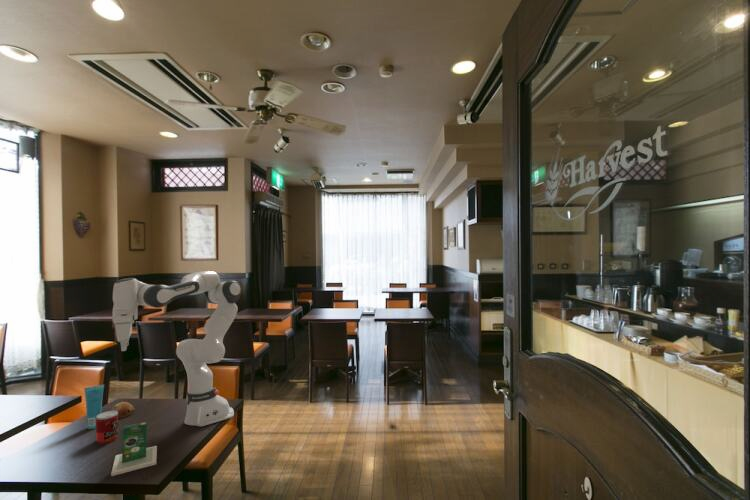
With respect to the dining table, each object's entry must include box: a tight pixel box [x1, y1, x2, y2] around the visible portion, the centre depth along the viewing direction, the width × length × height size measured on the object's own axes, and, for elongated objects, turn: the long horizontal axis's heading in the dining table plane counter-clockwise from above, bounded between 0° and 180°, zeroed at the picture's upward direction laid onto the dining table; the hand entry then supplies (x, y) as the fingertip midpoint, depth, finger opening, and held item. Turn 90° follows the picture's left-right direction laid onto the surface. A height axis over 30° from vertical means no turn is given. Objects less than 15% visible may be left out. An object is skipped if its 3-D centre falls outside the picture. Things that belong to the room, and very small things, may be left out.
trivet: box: [110, 445, 158, 477], centre depth 138 cm, size 14×14×1 cm
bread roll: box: [109, 401, 135, 419], centre depth 180 cm, size 10×10×8 cm
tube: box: [83, 384, 105, 430], centre depth 167 cm, size 7×5×19 cm, turn 133°
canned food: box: [95, 410, 119, 445], centre depth 155 cm, size 8×8×11 cm
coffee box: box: [121, 421, 148, 462], centre depth 138 cm, size 8×3×13 cm, turn 122°
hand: (125, 348), depth 151 cm, fingers open, 8 cm apart
